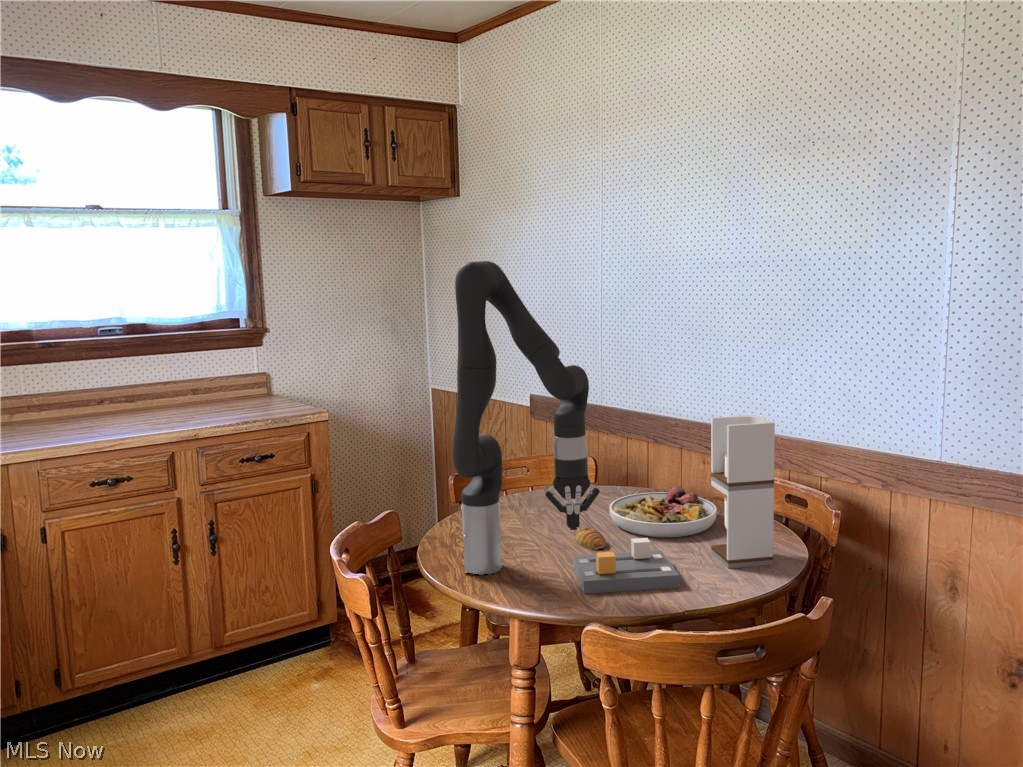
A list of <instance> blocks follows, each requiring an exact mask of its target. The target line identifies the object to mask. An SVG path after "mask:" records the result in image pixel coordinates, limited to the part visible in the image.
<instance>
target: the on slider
mask: <svg viewBox="0 0 1023 767" xmlns="http://www.w3.org/2000/svg"><path fill="white" fill-rule="evenodd" d="M630 542H631V544H630V545H631V546H630V547H631V548H630V550H631V551H630V552H631V555H632V556H633V558H634V559H641V558H651V551H652V550H651V545H652V544H651V540H649V538H648V537H638V538H630Z"/></svg>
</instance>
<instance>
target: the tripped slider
mask: <svg viewBox="0 0 1023 767" xmlns="http://www.w3.org/2000/svg"><path fill="white" fill-rule="evenodd" d="M614 553H615V552H614V551H607V552H605V551H603V552H595V555H596V568H597V571H598V573H599V574H610V573H616V556H615V554H614Z"/></svg>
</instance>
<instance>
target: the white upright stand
mask: <svg viewBox="0 0 1023 767" xmlns="http://www.w3.org/2000/svg"><path fill="white" fill-rule="evenodd" d="M710 420H711V421H710V422H711V424H710V425H711V426H710V427H711V428H710V430H711V433H710V435H711V436H710V441H711V442H710V443H711V447H710V449H711V450H710V451H711V453H710V456H711V457H710V461H711V462H710V464H711V465H710V466H711V467H710V468H711V469H710V470H711V471H710V472H711V474H710V475H711V476H710V477H711V479H710V481H711V482H710V483H711V486H712V488H714V489H716V490H718V491H719V492H721V493H722V495H723V494H724V526H725V529H726V543H725V544H714V545H712V544H711V545H710V546H711V547H710V550H711V552H710V553H711V554H712V555H713V556H714V557H715V558H716V559H717V560H718V561H719V562H720V561H721V563H722V564H723V565H724V566H725V567H726V568H727V569H738V568H749V567H760V566H771V565H774V526H775V525H774V524H775V523H774V522H775V518H774V517H775V514H774V513H775V512H774V511H775V506H774V505H775V446H776V445H775V442H776V441H775V437H776V436H775V433H776V430H775V427H776V422H774V421H771V420H768V419H767V418H763V417H761V416H758V415H756V414H752V415H748V414H747V415H734V416H718V417H717V416H716V417H715V416H714V417H711V418H710Z"/></svg>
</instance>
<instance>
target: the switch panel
mask: <svg viewBox="0 0 1023 767" xmlns="http://www.w3.org/2000/svg"><path fill="white" fill-rule="evenodd" d="M614 554H615V556H616V573H610V574H599V573H598V571H597V568H596V554H585V555H572V569H573V570H574V573H575V576H576V578H577V581H578V583H579V586H580V587H581V590H582V593H583V594H587V595H588V594H601V593H615V592H617V593H618V592H619V593H620V592H633V591H647V590H660V589H661V590H662V589H663V590H664V589H679V588H680V587H681V586H680V574H679V572H678V571H677V570H676V569H675V567H674V566H673V564H672V563H671V562H670V560H669V559H668V558H667V556H666V555H665V554H664V552H663V551H662V550H651V558H641V559H634V558H633V556H632V555H631V551H630V552H617V553H615V552H614Z"/></svg>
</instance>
